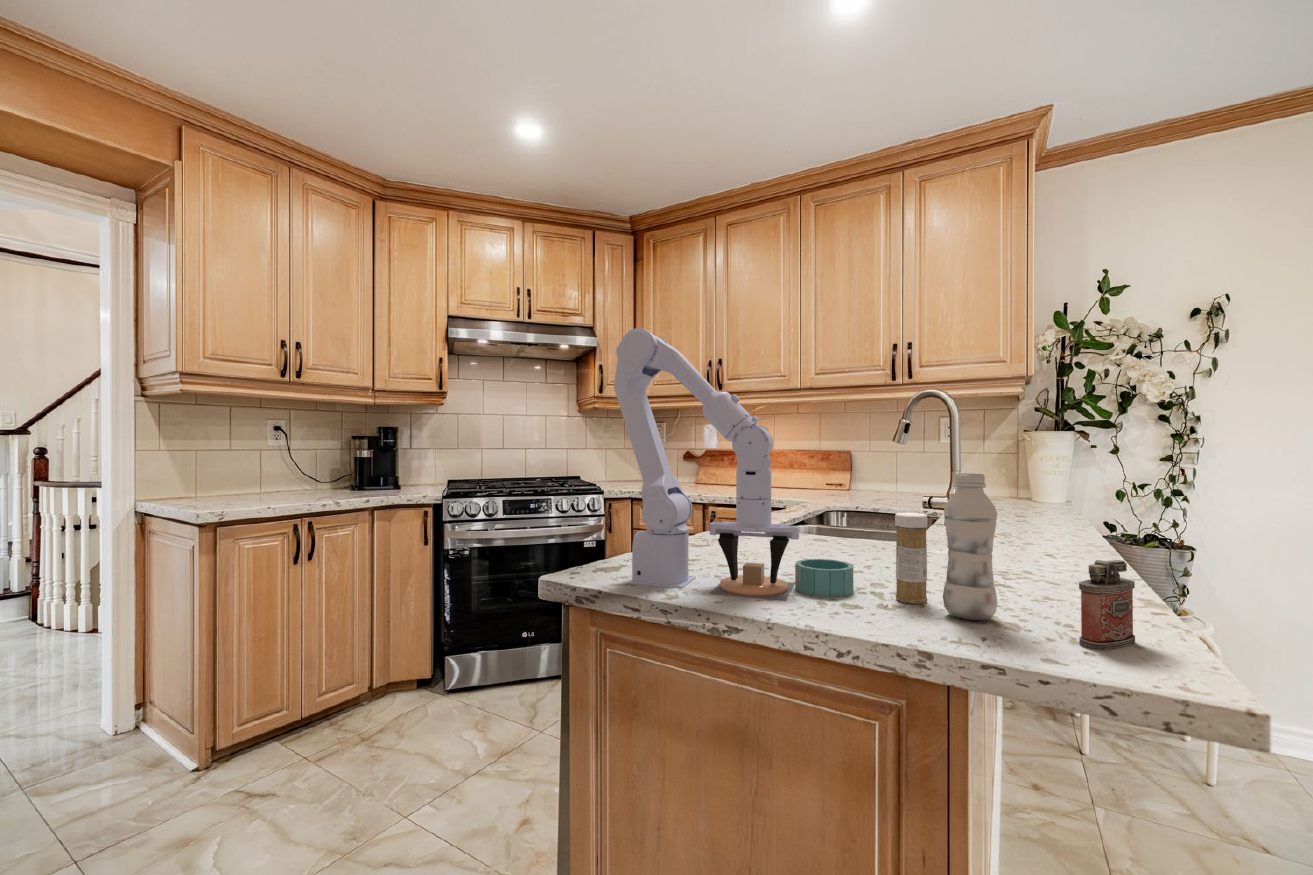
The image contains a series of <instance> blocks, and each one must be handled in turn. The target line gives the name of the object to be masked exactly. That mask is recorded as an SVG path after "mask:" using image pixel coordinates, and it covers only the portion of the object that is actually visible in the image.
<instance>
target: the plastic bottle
mask: <svg viewBox="0 0 1313 875" xmlns="http://www.w3.org/2000/svg"><path fill="white" fill-rule="evenodd" d="M985 480H986V476H985V474H983V473H968V472H967V473H961V472H960V473H959V472H958V473H954V483H953V487H954V488H955V487H956V489H955V492H954V493H953V494H952V496H951V497H950V498H949V499H948V501H947V502H946V504H945V505H944V506H945V507H944V509H943V516H944V524H945V531H946V537H947V538H946V540H947V549H948V551H947V557H948V558H947V566H946V568H947V569H946V579H945V580H946V581H945V583H944V586H943V594H942V599H943V600H942V601H943V605H944V606H943V607H944V608H945V610H946V611H947V613H948V614H950V615H951V616H954V617H957V618H962V619H965V620H970V621H986V620H991V619H992V618H993V617H994V615H995V614H996V612H997V608H998V597H997V596H998V595H997V591H996V590H997V589H996V587H995V583H994V582H995V581H994V571H993V570H994V567H993V551H994V538H995V535H996V534H995V532H996V527H997V521H998V512H997V508H996V506H995V505H994V503H993V502H992V500H991V499H990V498H989V497H988V495H987V494H986V493H985V492H984V489H985V488H986V486H987V485H986V481H985Z"/></svg>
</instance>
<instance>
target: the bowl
mask: <svg viewBox="0 0 1313 875" xmlns="http://www.w3.org/2000/svg"><path fill="white" fill-rule="evenodd" d="M794 568H795V569H794V578H795V580H794V583H795V585H794V586H795V588H794V589H795V590H796V591H798V592H799V593H801V594H804V595H809V596H813V597H819V598H820V597H821V598H844V597H849V596H852V595H854V564H852V563H849V562H847V561H843V560H836V559H829V558H828V559H826V558H806V559H800V560H796V561H795V566H794Z"/></svg>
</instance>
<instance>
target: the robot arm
mask: <svg viewBox="0 0 1313 875" xmlns="http://www.w3.org/2000/svg"><path fill="white" fill-rule="evenodd" d="M615 353H616V357H617V361H616V368H615V375H614V381H613V388H614V392H615V396H616V399H617V402H618V405H619V408H620V412H621V415H622V419H623V422H624V424H625V428H626V431H627V434H628V437H629V440H630V444H631V446H632V450H633V453H634V456H635V459H636V461H637V462H636V463H637V466H638V469H639V471H640V475H641V478H642V481H643V482H642V487H641V490H640V496H641V498H642V499H641V500H642V510H641V514H642V519H643V520H642V521H643V522H644V524H645V525H646V528H647V529H646V530H637V531H636V533H635V534H634V537H633V540H632V547H631V548H632V549H631V550H632V551H631V557H632V558H631V560H632V564H631V567H632V571H631V577H632V579H631V580H630V584H633V585H645V586H654V587H663V588H664V587H666V588H676V589H677V588H678V589H684V588H685V587H686V586H688V585H689V584H691V583H692V582H693V581H694V580H696V576H694V575H689V531H690V530H689V527H688V525H687V522H688V521H689V520H690V518H691V517H692V514H693V504H692V501H691V499H690V498H689V496H688V495H687V494H686V493H685V492H684V491H683V490H682V487H681V484H680V481H679V480H678V479H677V478H676V476H675V475H674V474H673V472H672V470H671V467H670V464H669V459H668V457H667V453H666V451H665V448H664V444H663V442H662V438H661V435H660V433H659V430H658V426H657V422H656V419H655V417H654V413H653V410H652V407H651V404H650V402H649V398H648V394H647V392H646V390H647V388H648V387H649V385H650V383H651V381H652V380H653V379H654V378H655V377H656V376H657V375H658V374H659V373H660V372H661V371H662V372H665V373H668V374H671V375H672V376H673V377H674V378H675V379H676V380H677V381H678V382H679V383H680V384H681V385H682V386H683V387H684V388H685V389H687V390H688V392H690V393H691V394H692V395H693V397H695V398H696V399H697V400H698V401H699V402H700V403H701V404H702V414H703V417H704V418H705V419H706V420H707V421H708V422H709V423H710V424H711V425H712V426H713V427H714V428H715V430H716V431H718V432H719V433H720V435H722V437H723V438H724V439H726V441H727V442H732V443H731V446H732V450H733V452H734V454H735V455H736V458H737V459H736V472H735V473H736V478H735V481H736V482H735V483H736V488H735V490H736V491H735V492H736V496H735V498H736V500H735V502H736V503H735V504H736V506H735V507H736V508H735V509H736V510H735V511H736V512H735V515H736V517H735V518H736V519H735V520H736V521H735V522H734V521H731V522H730V521H729V522H728V521H727V522H725V521H724V522H723V521H722V522H721V521H712V522H710V523H709V535H710V536H716V535H719V538H718V539H717V541H718V544H719V547H720V548H721V550H722V552H723V554H724V558H725V560H726V562H727V566H728V568H729V569H728V570H729V574H730V576H729V577H731V580H736V579H737V578H738V576H739V566H738V565H739V564H738V563H739V562H738V550H739V549H738V548H739V538H740V537H739V536H741V537H756V538H757V537H758V538H759V537H760V538H771V539H770V540H769V547H770V548H769V549H770V550H769V551H770V572H769V573H770V574H769V577H770V583H773V584H775V583H776V581H777V579H778V573H779V568H780V564H781V561H782V558H783V555H784V553H785V551H786V548H787V546H788V544H789V541H790V539H791V540H796V541H797V540H799V539H800V525H788V524H779V523H778V524H776V523H772V470H771V463H772V461H771V455H770V454H771V453H772V451H773V448H774V439H773V436H772V434H771V432H769V429H768V427H766V426H763V425H758V422H759V421H760V419H759V418H758V417H757V416H756V415H754V416H752V415H751V414H750V413H749V412H748V411H747V410H746V409H745V407H743V406H742V405H741V404H740V403H739V401H740V398H739V396H738V395H736V394H735V393H733V394H731V393H730V392H728V391H717V390H716V389H715V388H714V387H713V386H712V385H711V384H710V383H709V381H708V380H707V379H706V378H705V377H704V376H703V375H702V374H701V373H700V372H699V371H698V369H697V368H696V367H695V366H694V365H693V364H692V363H691V362H690V361H689V360H688V359H687V357H686V356H685V355H684V354H682V352H680V351H679V350H678V349H676V348H675V347H674V346H672V345H671V344H669V343H668V341H667V340H665V338H662V337H660V336H657V335H655V334H652V333H651V332H650V331H648V330H647V329H645V328H642V327H638V328H637V327H636V328H633V329H630V330H628V331H627V332H626V333H625V334H624V335H623V337H622V338H621V340H620V341H619V344H618V345H617V347H616V349H615Z"/></svg>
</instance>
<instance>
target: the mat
mask: <svg viewBox="0 0 1313 875" xmlns="http://www.w3.org/2000/svg"><path fill="white" fill-rule="evenodd" d="M725 578H728V576H727V577H725ZM785 582H786V583H787V584H788V591H787V592H786V593H784V594H781V595H775V596H764V597H756V596H743V595H736V594H732V593H728V592H725V591H723V590H722V589H721V588H720V583H719V584H718V585H716V586H715V587H714V588H713V589H712V590H711V591H710V592H709V593H708V594H709V595H717V596H726V597H727V596H728V597H729V596H730V597H739V598H751V599H760V600H761V599H762V600H772V601H784V602H786V601H787V599H788V597H789V596H790V594H791V592H792V591H793V588H794V586H795V582H789V581H785Z"/></svg>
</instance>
